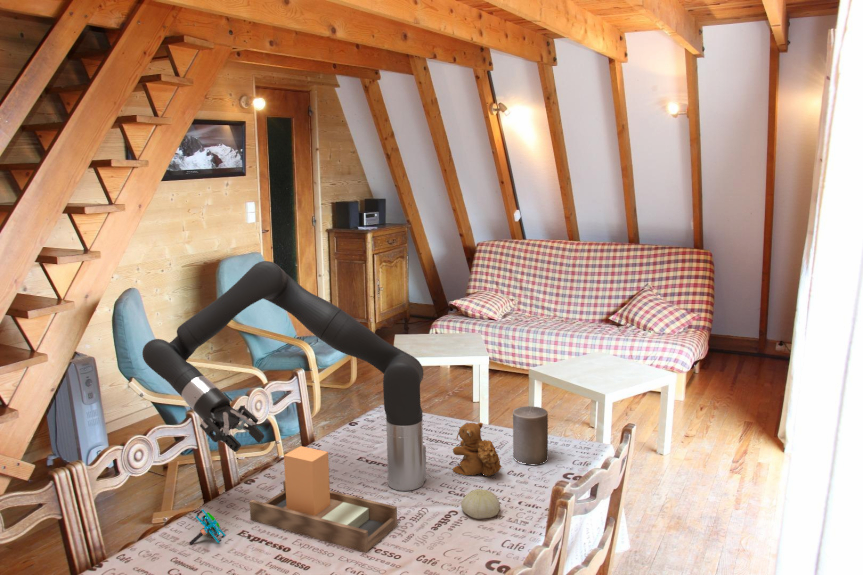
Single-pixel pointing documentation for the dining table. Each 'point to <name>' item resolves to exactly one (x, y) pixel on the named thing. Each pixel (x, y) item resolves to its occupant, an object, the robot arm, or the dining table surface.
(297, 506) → the orange block
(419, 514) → the dining table surface
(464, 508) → the sea urchin shell
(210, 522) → the stick construction toy
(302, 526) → the open wooden box
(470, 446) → the stuffed squirrel
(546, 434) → the pillar candle
